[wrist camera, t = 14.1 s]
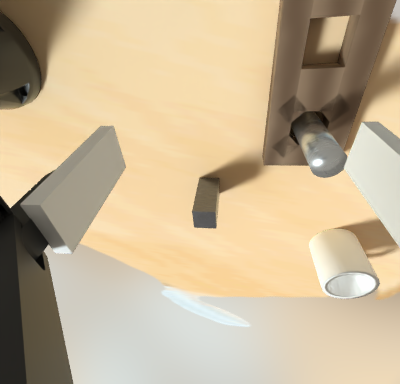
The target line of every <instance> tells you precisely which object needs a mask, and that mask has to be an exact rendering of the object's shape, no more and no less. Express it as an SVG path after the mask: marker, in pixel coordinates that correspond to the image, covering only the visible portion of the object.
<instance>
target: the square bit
mask: <svg viewBox="0 0 400 384" xmlns="http://www.w3.org/2000/svg"><path fill="white" fill-rule="evenodd" d="M218 204H219V178H199V183H198V187H197V192H196V196H195V201H194V206H193V210H192V213H193V222H194V227H195V228H216V226H217V215H218Z"/></svg>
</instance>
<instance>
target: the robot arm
mask: <svg viewBox="0 0 400 384" xmlns="http://www.w3.org/2000/svg"><path fill="white" fill-rule="evenodd" d="M40 87H41V74H40V69H39V65H38V62H37V59H36V57H35V54H34V52H33V50H32V48H31V47H30V45H29V43H28V42H27V40H26V39H25V37H24V36H23V34H22V33H21V32H20V31H19V29H18V28H17V27H16V26H15V25H14V24H13V23H12V22H11V21H10V20H9V19H8V18H7V17H6V16H5V15H4V14H2V13H1V12H0V110H4V109H16V108H19V107H22V106H24V105H26V104H28V103H30V102H32V101H33V100H34V99H35V98H36V97H37V95H38V93H39V91H40ZM125 168H126V165H125V162H124V159H123V155H122V152H121V149H120V146H119V142H118V139H117V136H116V132H115V129H114V126H100V127H99V128H98V129H97V130H96V131H95V132H94V133H93V134H92V135H91V136H90V137H89V138H88V139H87V140H86V141H85V142H84V143H83V144H82V145H81V146H80V147H79V148H77V149H76V150H75V151H74V152H73V153H72V154H71V155H70V156H69V157H68V158H67V159H66V160H65V161H64V162H63V163H62V164H61V165H60V166H59V167H58V168H57V169H56V170H54V171H52V172H51V173H49V174H47V175H45V176H44V177H43V178H42V179H41V180H40V181H39V182H38V183H37V184H36V185H35V186H34V187H32V188H31V190H29V191H28V192H27V193H26V194H25V195H24V196H23V197H22V198H21V199H20V200H19V201H18V202H17V203H16V204H14V205H13V206H12V207H11V208H9V206H8V205H7V204H6V203H5V201H4V200H3V199H2V197H1V196H0V384H73V380H72V375H71V370H70V365H69V360H68V355H67V351H66V346H65V341H64V336H63V331H62V326H61V321H60V317H59V312H58V307H57V302H56V297H55V292H54V288H53V282H52V277H51V273H50V268H49V263H48V258H47V256H46V254H45V253H44V250H45V248H46V247H47V245H48V244H49V245H50V246H51V248H52V249H53V250H54V252H55V253H64V254H72V253H73V252H74V250H75V249H76V247H77V245H78V244H79V242H80V241H81V239H82V237H83V236H84V234H85V232H86V231H87V229H88V228H89V226H90V224H91V223H92V221H93V220H94V218H95V216H96V215H97V213H98V211H99V210H100V208H101V207H102V205H103V203H104V202H105V200H106V199H107V197H108V195H109V194H110V192H111V190H112V189H113V187H114V186H115V184H116V182H117V181H118V179H119V178H120V176H121V174H122V173H123V171H124V169H125ZM344 169H345V171H346V172H347V174H348V175H349V176H350V178H351V179H352V181H353V182H354V184H355V185H356V186H357V188H358V189H359V191H360V192H361V193H362V195H363V196H364V198H365V199H366V201H367V202H368V203H369V205H370V206H371V208H372V209H373V211H374V212H375V213H376V215H377V216H378V218H379V219H380V221H381V222H382V223H383V225H384V226H385V228H386V229H387V230H388V232H389V233H390V235H391V236H392V238H393V239H394V240H395V242H396V243H397V245H398V246H399V248H400V139H399V138H398V137H397V136H396V135H394V134H393V133H392V132H391V131H389V130H388V129H387V128H386V127H384V126H383V125H382V124H380V123H379V122H362V123H361V125H360V128H359V131H358V133H357V136H356V138H355V141H354V143H353V146H352V148H351V151H350V153H349V156H348V158H347V161H346V163H345V166H344Z"/></svg>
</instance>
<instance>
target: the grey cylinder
mask: <svg viewBox="0 0 400 384" xmlns="http://www.w3.org/2000/svg"><path fill="white" fill-rule="evenodd" d="M291 127H292V129H293V131H294V134H295V136H296V138H297V140H298V142H299V145H300V147H301V149H302V151H303V153H304V156H305V158H306V160H307V162H308V164H309V166H310V169H311V171H312V172H313V174H314V175H316V176H318V177H323V178H326V177H332V176H334V175H336V174H338V173H340V172H341V171H342V170H343V169H344V166H345V163H346V161H347V155H346V154H345V152H344V151H343V150H342V148H341V147H340V146H339V144H338V143H337V141H336V140H335V139H334V137H333V136H332V135H331V133H330V132H329V131H328V129H327V128H326V127H325V125H324V124H323V123H322V121H321V120H320V119H319V117H318V116H317V115H316V113H315V112H314V111H305V112H304V113H302V114H301V115H300V116H299V117H297V118H296V119H295V120H294V121H292V122H291Z"/></svg>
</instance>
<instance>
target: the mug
mask: <svg viewBox="0 0 400 384" xmlns="http://www.w3.org/2000/svg"><path fill="white" fill-rule="evenodd" d="M309 248H310V251H311V254H312V258H313V261H314V264H315V268H316V271H317V274H318V278H319V281H320V284H321V288H322V290H323V292H324V293H326V294H327V295H329V296H331V297H335V298H340V299H352V298H359V297H363V296H366V295H368V294H370V293H372V292H374V291H375V290H376V289H377V288H378V286H379V284H380V283H379V279H378V277H377V275H376V273H375V271H374V269H373V267H372V265H371V264H370V262H369V260H368V258H367V256H366V254H365V252H364V250H363V248H362V246H361V244H360V242H359V241H358V239H357V237H356V235H355V234H354V233H353V232H351V231H349V230H346V229H329V230H325V231H322V232H320V233H318V234H316V235H315V236H314V237H313V238H312V239H311V241H310V242H309Z"/></svg>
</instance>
